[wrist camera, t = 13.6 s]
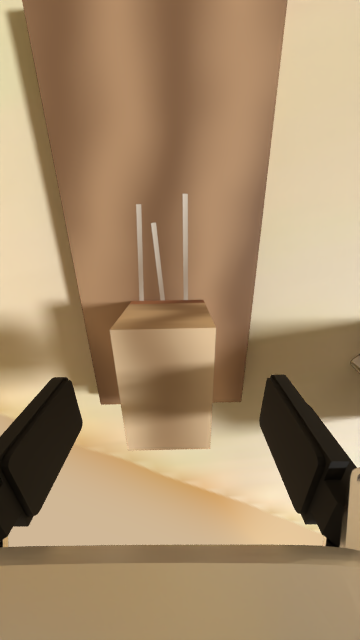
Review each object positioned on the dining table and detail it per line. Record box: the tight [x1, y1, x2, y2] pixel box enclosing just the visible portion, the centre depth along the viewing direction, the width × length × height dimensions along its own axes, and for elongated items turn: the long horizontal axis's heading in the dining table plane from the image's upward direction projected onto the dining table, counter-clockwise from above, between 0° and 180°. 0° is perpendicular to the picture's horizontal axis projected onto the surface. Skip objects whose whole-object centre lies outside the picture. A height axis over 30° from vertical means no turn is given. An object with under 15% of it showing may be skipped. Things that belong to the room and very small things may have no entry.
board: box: [22, 0, 287, 404], centre depth 14 cm, size 12×24×2 cm, turn 1°
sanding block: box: [110, 300, 216, 450], centre depth 13 cm, size 5×8×5 cm, turn 1°
